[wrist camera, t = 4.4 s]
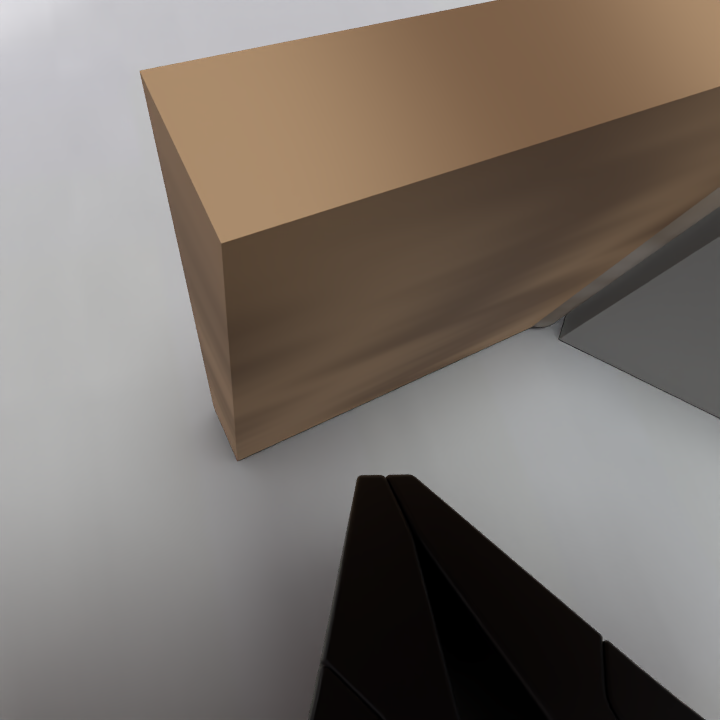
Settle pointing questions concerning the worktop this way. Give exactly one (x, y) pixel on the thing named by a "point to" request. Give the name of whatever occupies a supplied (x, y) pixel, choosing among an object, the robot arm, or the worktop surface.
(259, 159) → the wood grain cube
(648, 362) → the grey rectangular prism
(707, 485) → the worktop surface
